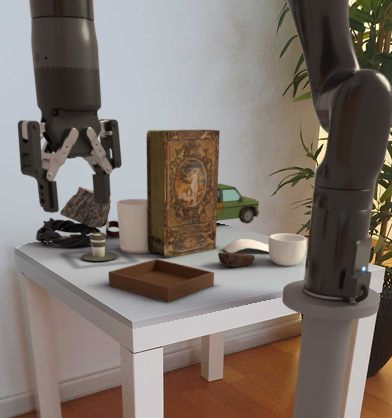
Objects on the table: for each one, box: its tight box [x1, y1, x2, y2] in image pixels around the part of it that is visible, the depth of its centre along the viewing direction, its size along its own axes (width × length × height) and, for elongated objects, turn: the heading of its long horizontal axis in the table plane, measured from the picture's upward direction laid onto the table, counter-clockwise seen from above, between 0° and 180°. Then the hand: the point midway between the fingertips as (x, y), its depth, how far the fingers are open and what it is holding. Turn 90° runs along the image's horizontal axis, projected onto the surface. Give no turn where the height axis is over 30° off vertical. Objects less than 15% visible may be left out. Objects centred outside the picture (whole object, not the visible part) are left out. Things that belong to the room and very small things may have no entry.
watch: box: [105, 220, 120, 239], centre depth 136 cm, size 8×5×4 cm, turn 4°
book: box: [146, 129, 221, 258], centre depth 119 cm, size 16×6×25 cm, turn 132°
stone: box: [217, 252, 256, 268], centre depth 113 cm, size 7×7×3 cm
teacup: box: [267, 232, 308, 267], centre depth 115 cm, size 10×8×5 cm
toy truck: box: [217, 183, 260, 224], centre depth 151 cm, size 11×21×10 cm, turn 120°
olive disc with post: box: [80, 232, 119, 262], centre depth 116 cm, size 12×12×5 cm
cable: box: [35, 217, 102, 248], centre depth 130 cm, size 17×14×4 cm
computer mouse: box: [223, 238, 269, 254], centre depth 125 cm, size 9×12×3 cm
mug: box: [116, 198, 150, 254], centre depth 123 cm, size 11×9×10 cm
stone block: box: [59, 186, 112, 229], centre depth 131 cm, size 14×9×8 cm, turn 176°
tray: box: [108, 258, 215, 303], centre depth 99 cm, size 14×12×2 cm
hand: (77, 207), depth 71 cm, fingers open, 8 cm apart
